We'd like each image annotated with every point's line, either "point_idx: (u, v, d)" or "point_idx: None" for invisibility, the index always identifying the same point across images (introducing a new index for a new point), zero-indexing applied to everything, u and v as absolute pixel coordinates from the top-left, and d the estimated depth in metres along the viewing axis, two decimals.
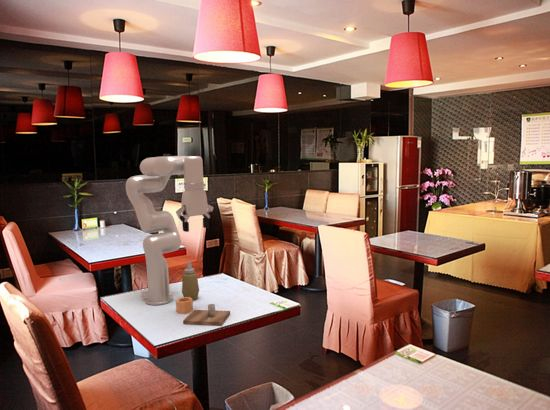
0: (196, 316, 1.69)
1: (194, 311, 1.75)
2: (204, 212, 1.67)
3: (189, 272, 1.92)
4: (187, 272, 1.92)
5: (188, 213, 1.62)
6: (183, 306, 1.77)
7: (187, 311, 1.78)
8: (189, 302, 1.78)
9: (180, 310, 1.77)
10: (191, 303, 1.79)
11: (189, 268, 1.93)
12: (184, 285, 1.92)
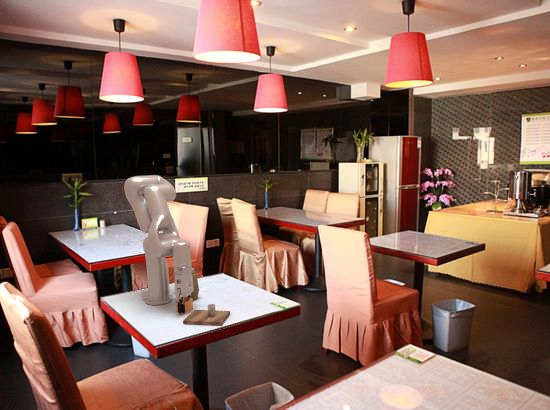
0: (196, 316, 1.69)
1: (194, 311, 1.75)
2: None
3: None
4: None
5: None
6: None
7: (187, 311, 1.78)
8: (189, 302, 1.78)
9: None
10: (191, 303, 1.79)
11: None
12: None
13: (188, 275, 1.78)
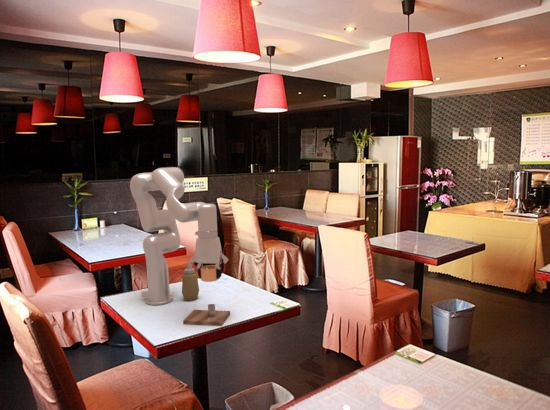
0: (196, 316, 1.69)
1: (194, 311, 1.75)
2: None
3: (189, 272, 1.92)
4: (187, 272, 1.92)
5: None
6: None
7: (202, 279, 1.66)
8: (203, 270, 1.65)
9: None
10: (206, 273, 1.64)
11: (189, 268, 1.93)
12: (184, 285, 1.92)
13: (204, 242, 1.64)
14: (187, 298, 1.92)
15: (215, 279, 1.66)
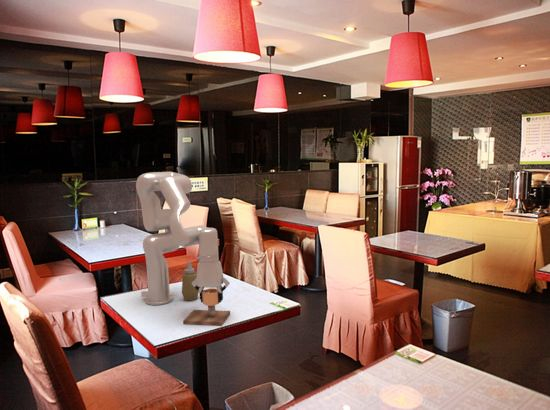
0: (196, 316, 1.69)
1: (194, 311, 1.75)
2: None
3: (189, 272, 1.92)
4: (187, 272, 1.92)
5: None
6: None
7: (204, 302, 1.67)
8: (204, 294, 1.66)
9: None
10: (208, 297, 1.65)
11: (189, 268, 1.93)
12: (184, 285, 1.92)
13: (206, 266, 1.65)
14: (187, 298, 1.92)
15: (217, 303, 1.67)
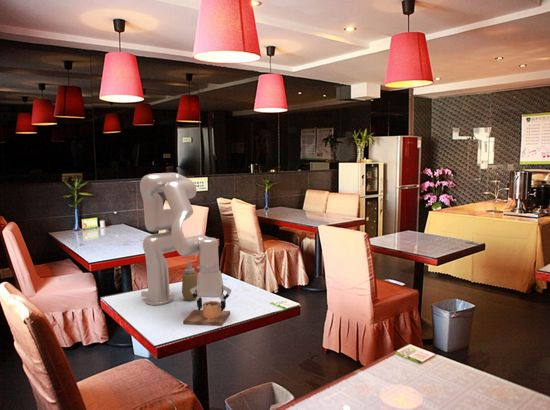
0: (196, 316, 1.69)
1: (194, 311, 1.75)
2: None
3: (189, 272, 1.92)
4: (187, 272, 1.92)
5: None
6: None
7: (204, 315, 1.68)
8: (205, 307, 1.67)
9: None
10: (208, 310, 1.66)
11: (189, 268, 1.93)
12: (184, 285, 1.92)
13: (206, 276, 1.65)
14: (187, 298, 1.92)
15: (217, 316, 1.68)
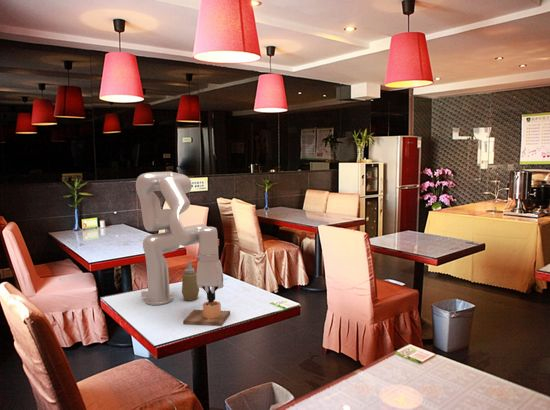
0: (196, 316, 1.69)
1: (194, 311, 1.75)
2: None
3: (189, 272, 1.92)
4: (187, 272, 1.92)
5: None
6: None
7: (204, 315, 1.68)
8: (205, 307, 1.67)
9: None
10: (208, 310, 1.66)
11: (189, 268, 1.93)
12: (184, 285, 1.92)
13: (206, 265, 1.65)
14: (187, 298, 1.92)
15: (217, 316, 1.68)
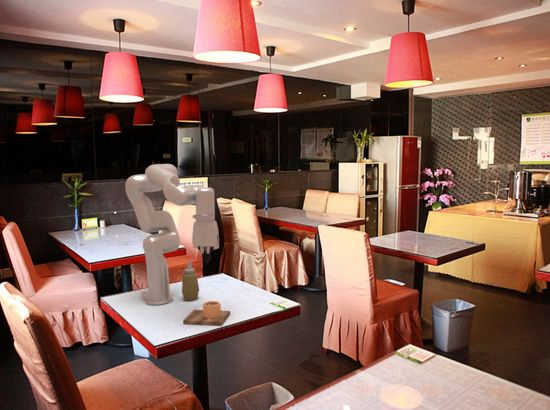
0: (196, 316, 1.69)
1: (194, 311, 1.75)
2: None
3: (189, 272, 1.92)
4: (187, 272, 1.92)
5: None
6: None
7: (204, 315, 1.68)
8: (205, 307, 1.67)
9: None
10: (208, 310, 1.66)
11: (189, 268, 1.93)
12: (184, 285, 1.92)
13: (202, 225, 1.65)
14: (187, 298, 1.92)
15: (217, 316, 1.68)
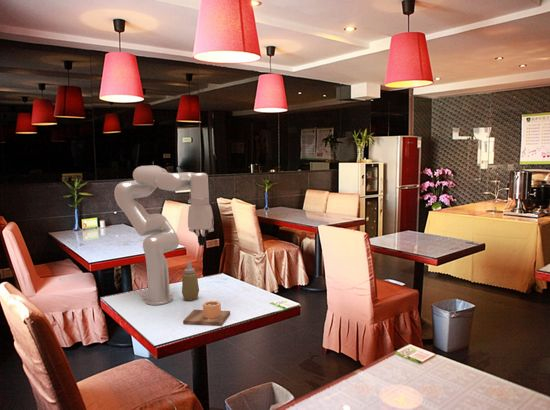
0: (196, 316, 1.69)
1: (194, 311, 1.75)
2: None
3: (189, 272, 1.92)
4: (187, 272, 1.92)
5: None
6: None
7: (204, 315, 1.68)
8: (205, 307, 1.67)
9: None
10: (208, 310, 1.66)
11: (189, 268, 1.93)
12: (184, 285, 1.92)
13: (197, 208, 1.72)
14: (187, 298, 1.92)
15: (217, 316, 1.68)
